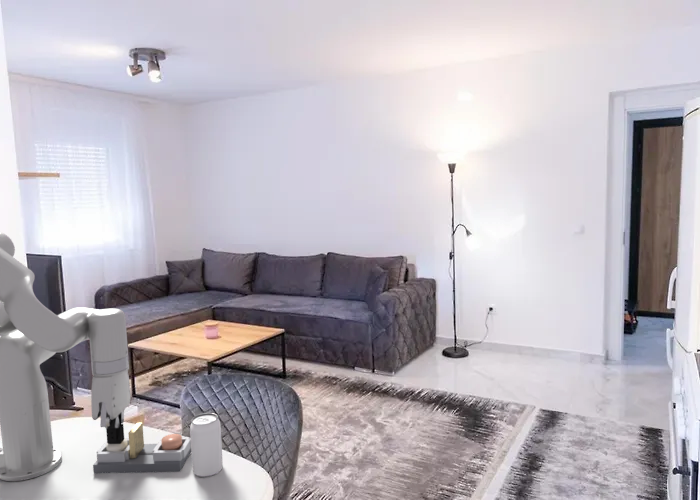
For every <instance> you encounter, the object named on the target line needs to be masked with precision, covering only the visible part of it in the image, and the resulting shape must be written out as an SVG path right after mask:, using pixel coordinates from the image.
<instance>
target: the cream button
mask: <svg viewBox="0 0 700 500" xmlns="http://www.w3.org/2000/svg"><path fill="white" fill-rule="evenodd" d="M127 446H128V443H127V439H126V438H125V437H124V440H123V441H122V443H121V444H108V443H107V444H106V447H107V452H111V451H124V450H125V449H126V448H127Z"/></svg>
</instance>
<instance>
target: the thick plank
mask: <svg viewBox="0 0 700 500" xmlns="http://www.w3.org/2000/svg"><path fill="white" fill-rule="evenodd" d="M128 438H129V447H130V458H136V457H137V456H138V454H139V453H140V452H141V451H142V449H143V448H144V444H145V439H144V425H143V422H136V424H135V425H134V426H132V428H131V429H130V430H129V431H128Z"/></svg>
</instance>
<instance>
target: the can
mask: <svg viewBox="0 0 700 500" xmlns="http://www.w3.org/2000/svg"><path fill="white" fill-rule="evenodd" d="M221 427H222V425H221V421H220V420H219V416H218V415H217V414H216V413H213V412H204V413H199V414H197V415H195V416H194V417H192V419H191V424H190V428H189V431H190V433H189V434H190V436H189V437H190V439H191V453H190V454H191V466H192V472H193V474H194V475H195V476H196V477H199V478H208V477H212V476H215V475H217V474H219V473H220V472H221V470H222V469H223V465H224V464H223V444H222V443H223V442H222V433H221V432H222V428H221Z"/></svg>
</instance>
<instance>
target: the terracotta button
mask: <svg viewBox="0 0 700 500" xmlns="http://www.w3.org/2000/svg"><path fill="white" fill-rule="evenodd" d="M182 437H183V436H182V435H181V434H180V433H171V434H168V435H164V436H163V437H162V438H161V439H160V440H161V442H162V450H178V449H180V448H181V447H182Z"/></svg>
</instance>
